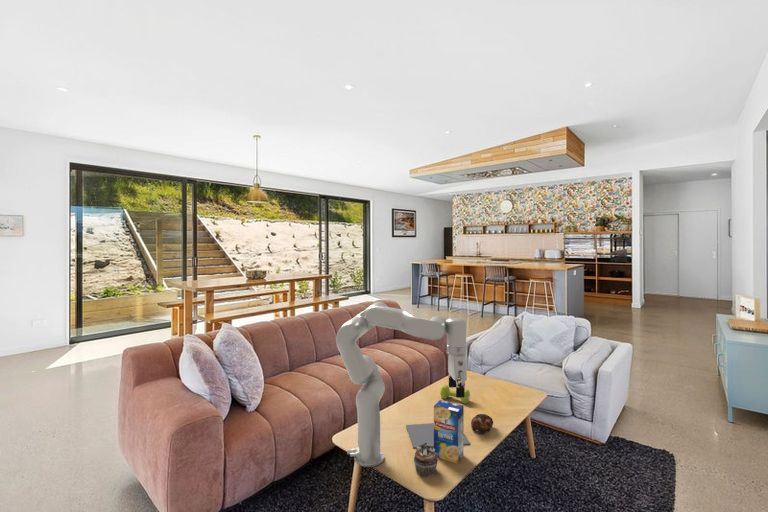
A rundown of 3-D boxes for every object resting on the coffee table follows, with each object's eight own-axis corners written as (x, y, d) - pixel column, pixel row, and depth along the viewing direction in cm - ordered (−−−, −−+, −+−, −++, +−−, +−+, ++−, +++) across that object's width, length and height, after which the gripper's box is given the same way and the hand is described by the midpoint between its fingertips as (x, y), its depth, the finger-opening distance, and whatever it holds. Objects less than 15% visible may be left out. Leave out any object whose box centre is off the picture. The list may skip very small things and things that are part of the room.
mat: (413, 448, 166) (413, 447, 166) (405, 426, 186) (405, 424, 186) (470, 444, 169) (470, 443, 169) (456, 422, 189) (456, 421, 189)
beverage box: (458, 463, 155) (458, 411, 154) (433, 455, 161) (433, 405, 160) (463, 455, 161) (463, 405, 160) (439, 448, 166) (439, 399, 165)
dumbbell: (471, 400, 214) (471, 388, 214) (466, 406, 208) (466, 393, 207) (444, 394, 223) (444, 382, 223) (439, 399, 216) (439, 387, 216)
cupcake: (408, 470, 151) (408, 446, 150) (424, 460, 157) (424, 437, 157) (427, 481, 144) (427, 456, 143) (442, 470, 150) (442, 446, 150)
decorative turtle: (465, 434, 178) (465, 417, 178) (480, 424, 190) (479, 408, 190) (484, 440, 172) (484, 422, 172) (498, 429, 183) (498, 412, 184)
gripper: (473, 356, 140) (473, 400, 140) (458, 343, 157) (458, 383, 158) (453, 356, 139) (453, 402, 140) (441, 343, 156) (441, 384, 157)
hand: (456, 392), depth 149 cm, fingers open, 9 cm apart
